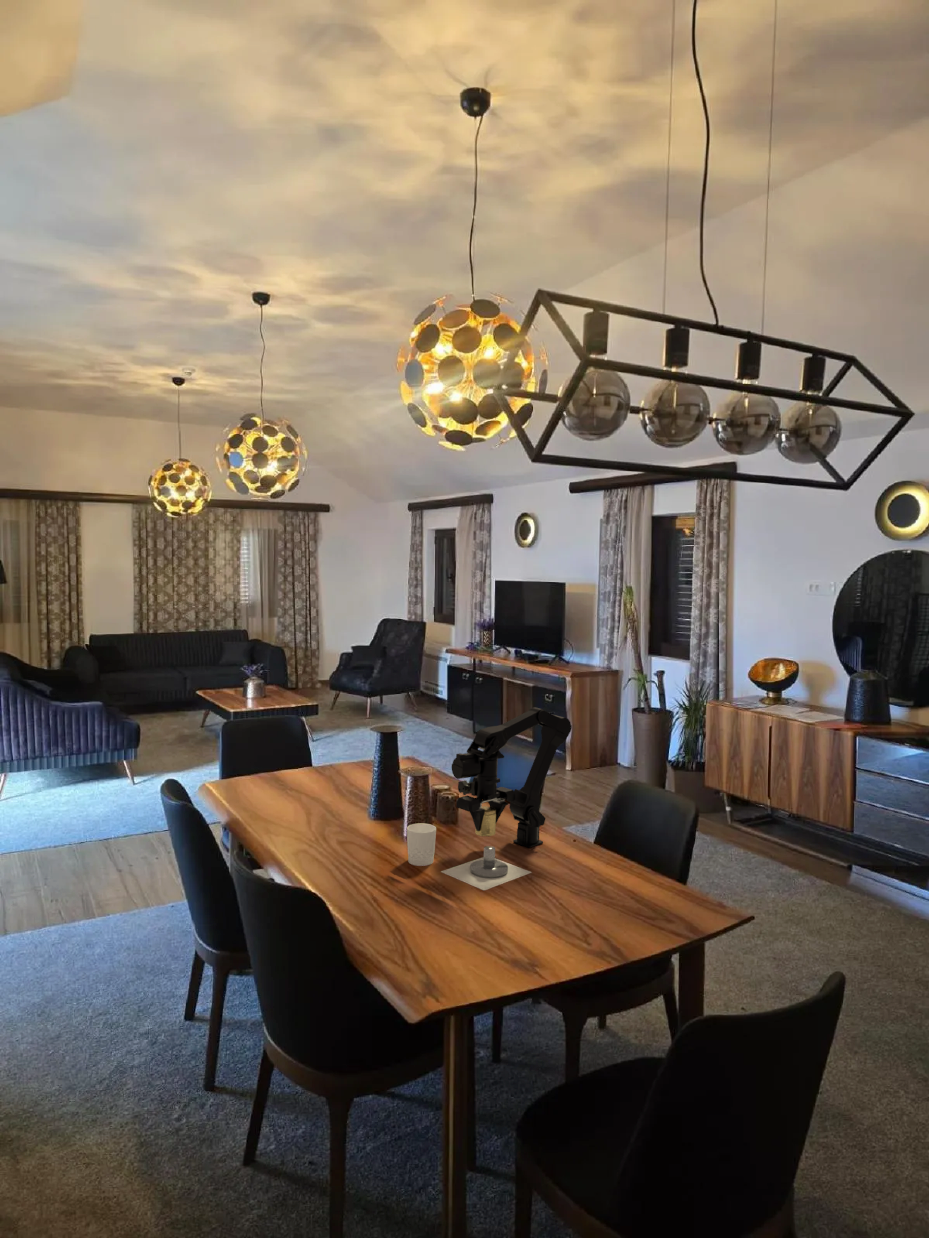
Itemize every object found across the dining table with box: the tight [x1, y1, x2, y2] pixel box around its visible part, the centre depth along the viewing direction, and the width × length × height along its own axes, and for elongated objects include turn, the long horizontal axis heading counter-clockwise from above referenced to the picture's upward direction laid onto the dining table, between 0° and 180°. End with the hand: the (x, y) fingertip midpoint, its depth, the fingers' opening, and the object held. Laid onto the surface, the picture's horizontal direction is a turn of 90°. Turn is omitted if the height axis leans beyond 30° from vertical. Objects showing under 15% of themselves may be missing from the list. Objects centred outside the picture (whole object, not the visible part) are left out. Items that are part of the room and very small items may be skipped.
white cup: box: [406, 822, 437, 867], centre depth 212 cm, size 8×8×10 cm
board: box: [440, 856, 532, 891], centre depth 206 cm, size 18×16×1 cm
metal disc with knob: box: [470, 845, 508, 878], centre depth 206 cm, size 10×10×6 cm
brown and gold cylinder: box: [474, 805, 497, 837], centre depth 222 cm, size 6×6×7 cm
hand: (485, 828), depth 222 cm, fingers closed on brown and gold cylinder, 6 cm apart
